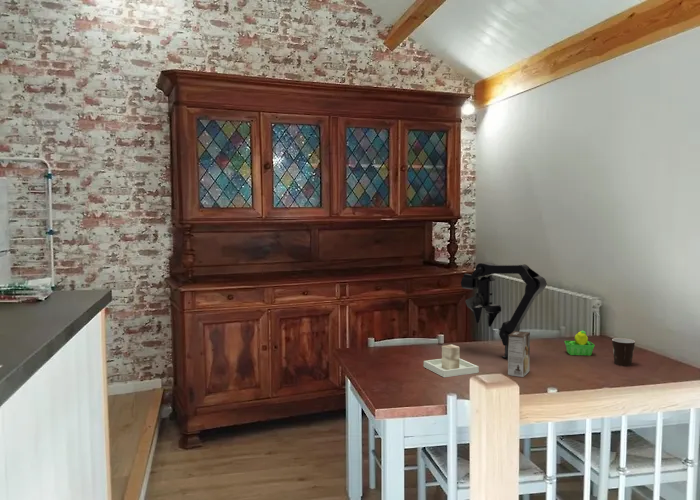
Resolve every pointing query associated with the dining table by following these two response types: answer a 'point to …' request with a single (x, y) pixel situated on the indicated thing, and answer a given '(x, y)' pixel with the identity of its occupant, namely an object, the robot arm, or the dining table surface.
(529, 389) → the dining table surface
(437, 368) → the tray
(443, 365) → the birch block
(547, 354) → the dining table surface
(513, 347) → the coffee box
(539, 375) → the dining table surface
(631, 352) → the coffee mug
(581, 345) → the fruit basket
